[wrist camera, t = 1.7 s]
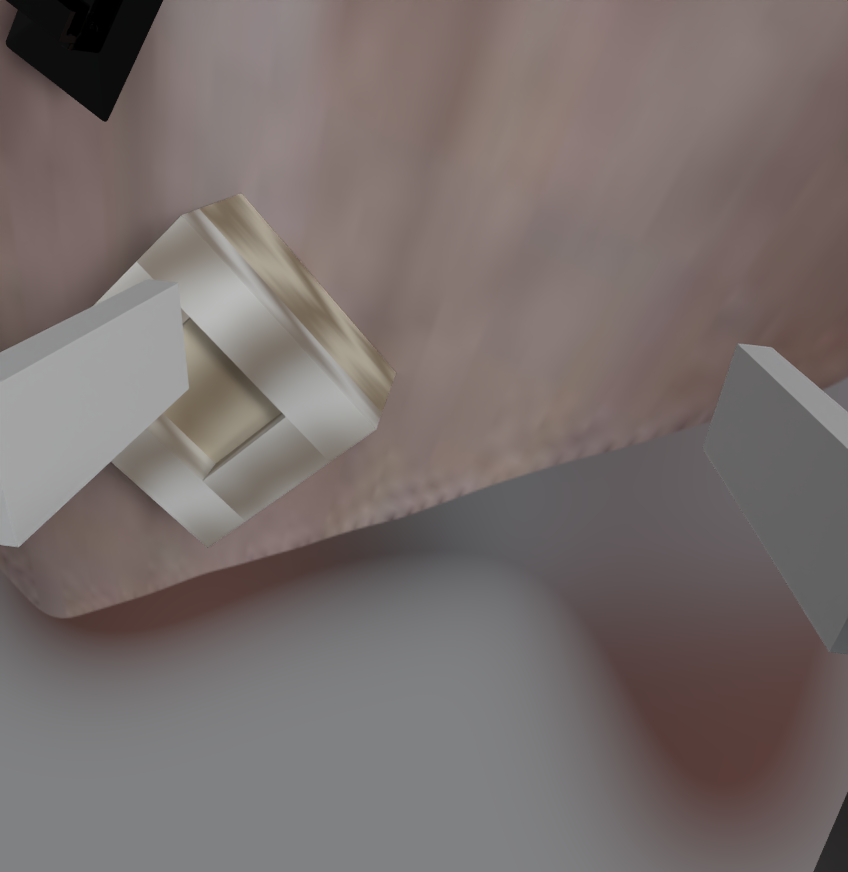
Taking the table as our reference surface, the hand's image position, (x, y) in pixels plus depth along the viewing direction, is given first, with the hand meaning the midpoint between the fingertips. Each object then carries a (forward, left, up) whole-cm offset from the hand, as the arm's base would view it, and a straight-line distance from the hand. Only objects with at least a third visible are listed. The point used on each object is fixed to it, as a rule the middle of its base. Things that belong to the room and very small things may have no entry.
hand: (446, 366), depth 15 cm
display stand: (-2, -17, -24) cm, 29 cm away
